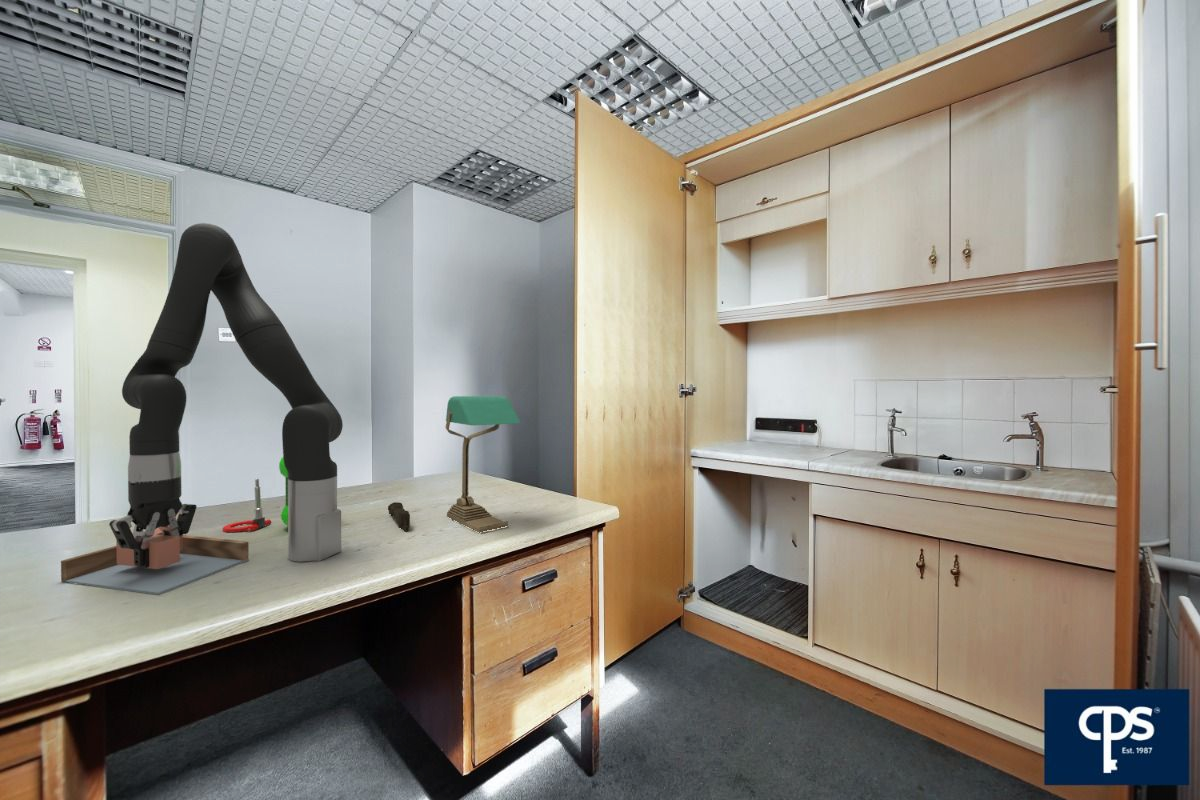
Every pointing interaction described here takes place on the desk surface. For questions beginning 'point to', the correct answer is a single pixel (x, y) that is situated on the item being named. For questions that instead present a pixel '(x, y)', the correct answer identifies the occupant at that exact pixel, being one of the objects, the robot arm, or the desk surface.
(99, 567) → the walnut corner walls
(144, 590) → the rubber mat
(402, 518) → the dark brown rough bar
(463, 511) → the banker's lamp
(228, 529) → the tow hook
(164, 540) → the bracket
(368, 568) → the desk surface
